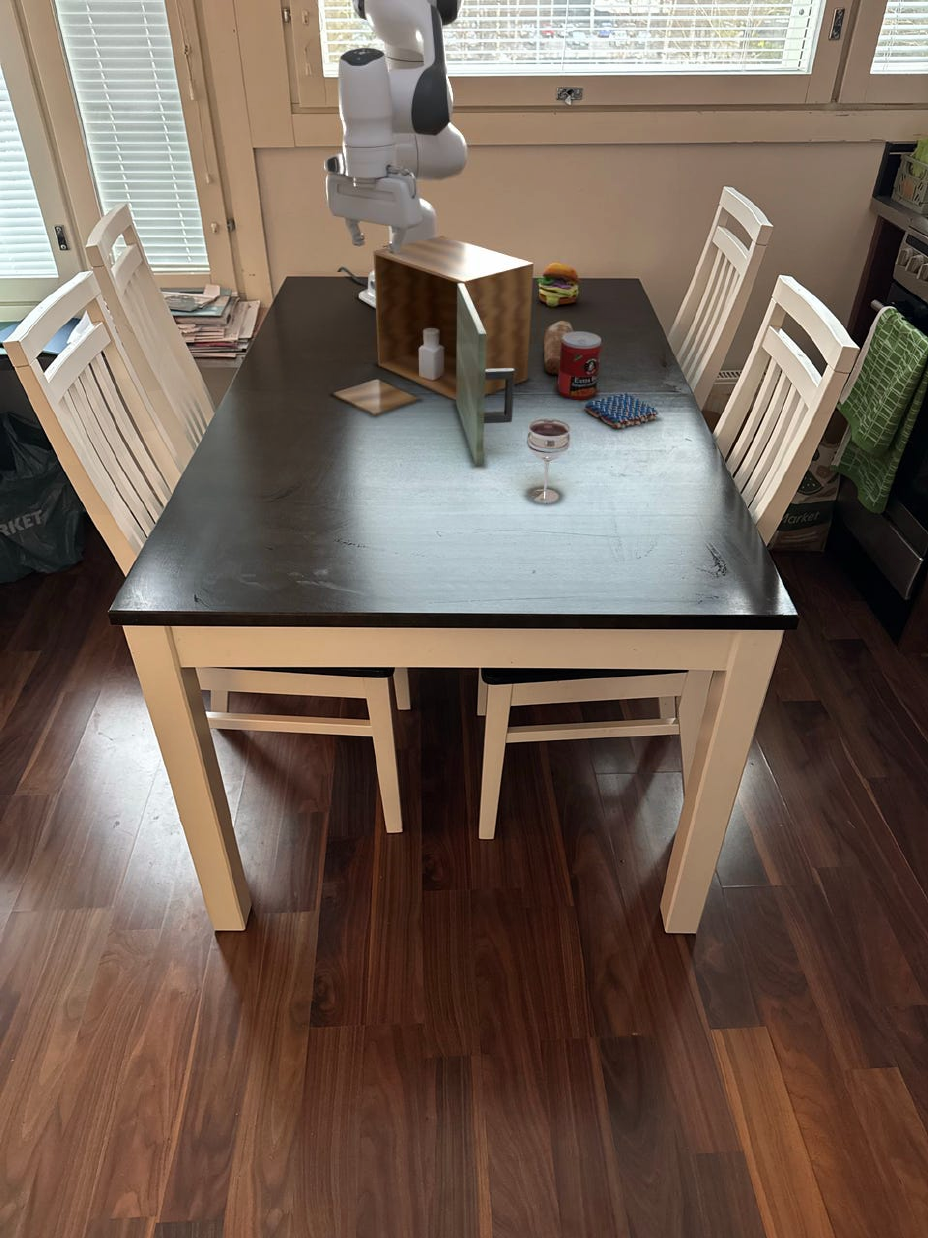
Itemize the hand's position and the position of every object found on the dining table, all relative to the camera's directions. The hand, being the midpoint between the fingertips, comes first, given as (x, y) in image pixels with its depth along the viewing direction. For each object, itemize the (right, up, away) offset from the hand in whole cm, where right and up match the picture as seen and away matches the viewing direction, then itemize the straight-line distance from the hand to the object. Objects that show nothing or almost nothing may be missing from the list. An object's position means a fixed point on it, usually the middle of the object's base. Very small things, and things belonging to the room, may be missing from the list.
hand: (376, 248), depth 163 cm
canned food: (+38, -20, +21) cm, 48 cm away
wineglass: (+28, -46, -13) cm, 56 cm away
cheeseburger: (+39, +14, +68) cm, 79 cm away
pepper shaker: (+9, -16, +25) cm, 31 cm away
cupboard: (+13, -14, +28) cm, 34 cm away
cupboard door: (+19, -31, +5) cm, 37 cm away
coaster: (-2, -22, +17) cm, 28 cm away
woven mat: (+45, -27, +12) cm, 54 cm away
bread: (+36, -10, +35) cm, 51 cm away
